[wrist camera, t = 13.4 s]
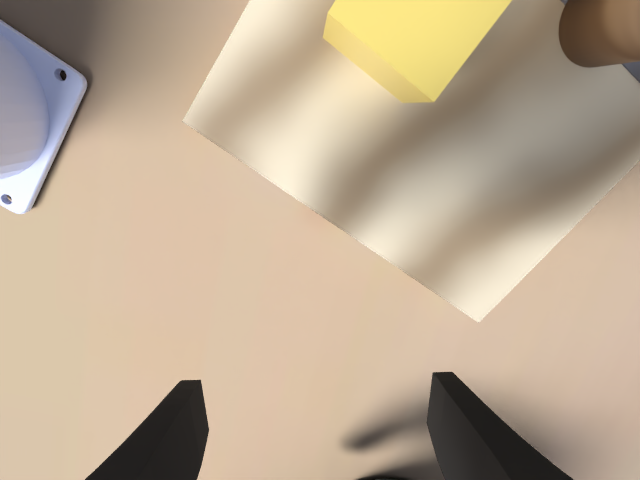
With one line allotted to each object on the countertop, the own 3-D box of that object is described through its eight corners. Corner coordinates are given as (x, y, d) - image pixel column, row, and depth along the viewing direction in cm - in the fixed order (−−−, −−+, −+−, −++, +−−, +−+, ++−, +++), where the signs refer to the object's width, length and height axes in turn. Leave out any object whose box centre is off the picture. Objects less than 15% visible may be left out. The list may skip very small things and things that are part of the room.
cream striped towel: (190, 120, 17) (181, 121, 16) (476, -387, 12) (495, -443, 11) (469, 311, 22) (479, 323, 21) (772, -1, 16) (810, -9, 15)
